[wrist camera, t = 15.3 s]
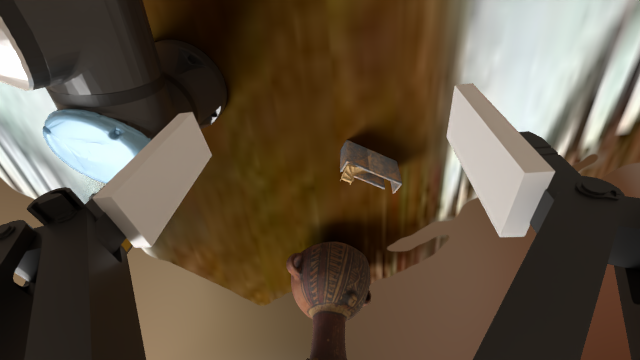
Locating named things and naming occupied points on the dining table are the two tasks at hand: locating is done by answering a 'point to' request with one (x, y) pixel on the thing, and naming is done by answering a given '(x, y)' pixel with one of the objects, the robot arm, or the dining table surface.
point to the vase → (330, 292)
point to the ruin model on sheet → (368, 166)
